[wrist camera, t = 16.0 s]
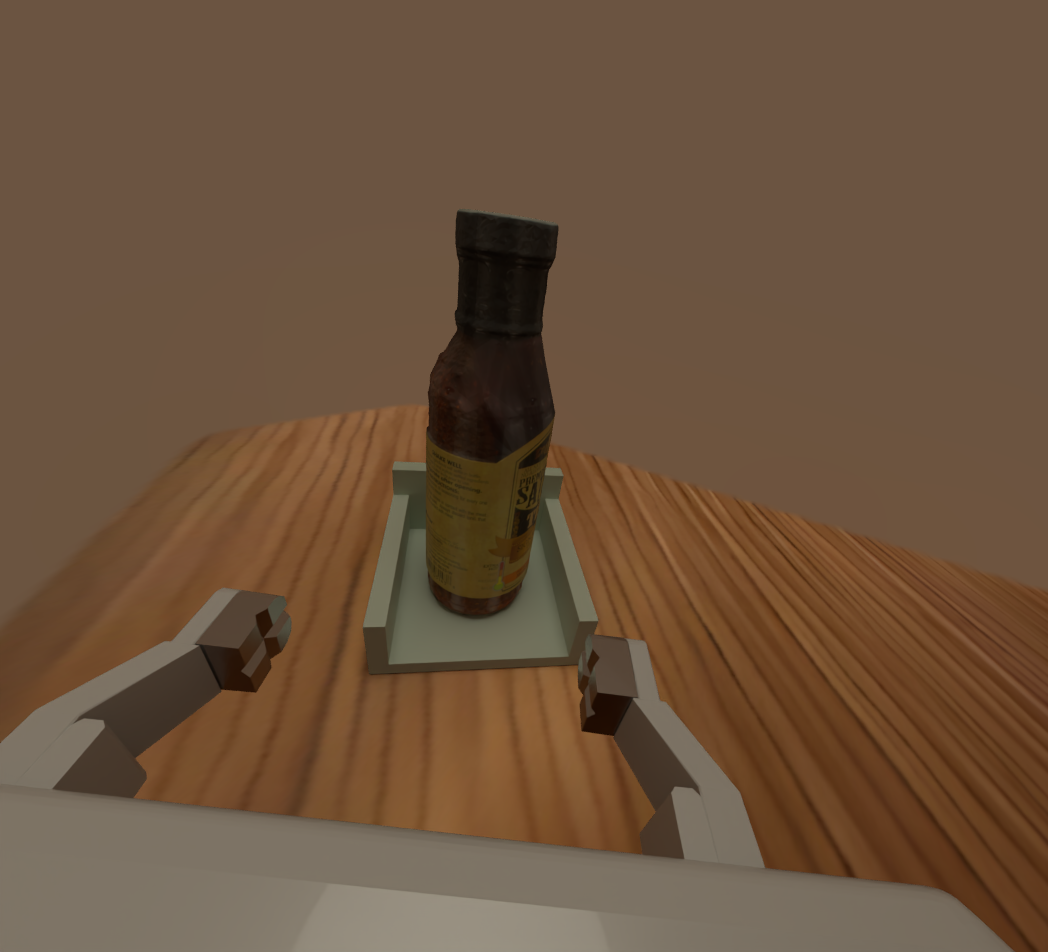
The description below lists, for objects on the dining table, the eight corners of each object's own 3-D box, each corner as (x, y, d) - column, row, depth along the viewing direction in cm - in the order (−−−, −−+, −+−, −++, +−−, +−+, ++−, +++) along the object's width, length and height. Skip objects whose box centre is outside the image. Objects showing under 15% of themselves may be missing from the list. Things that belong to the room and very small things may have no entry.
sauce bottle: (522, 627, 24) (601, 229, 13) (414, 615, 23) (402, 199, 13) (525, 548, 29) (583, 224, 18) (438, 538, 29) (444, 203, 18)
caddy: (547, 529, 33) (560, 468, 29) (583, 664, 23) (607, 594, 20) (397, 527, 31) (394, 461, 27) (369, 674, 21) (358, 598, 18)
